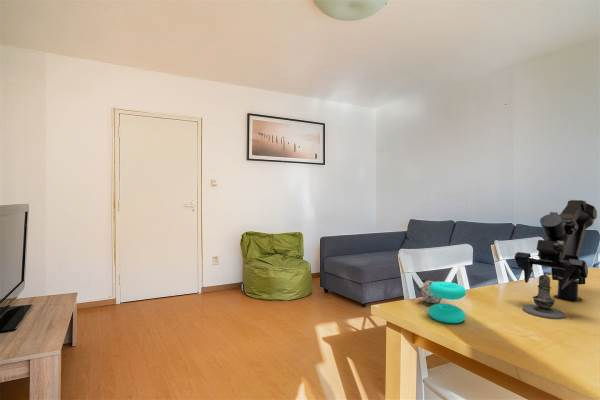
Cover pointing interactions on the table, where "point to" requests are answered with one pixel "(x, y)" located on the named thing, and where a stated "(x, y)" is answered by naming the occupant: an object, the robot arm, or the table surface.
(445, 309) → the donuts
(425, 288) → the game die
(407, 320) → the table surface
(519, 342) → the table surface
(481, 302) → the table surface
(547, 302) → the dark grey tall piece
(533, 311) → the charcoal mat
